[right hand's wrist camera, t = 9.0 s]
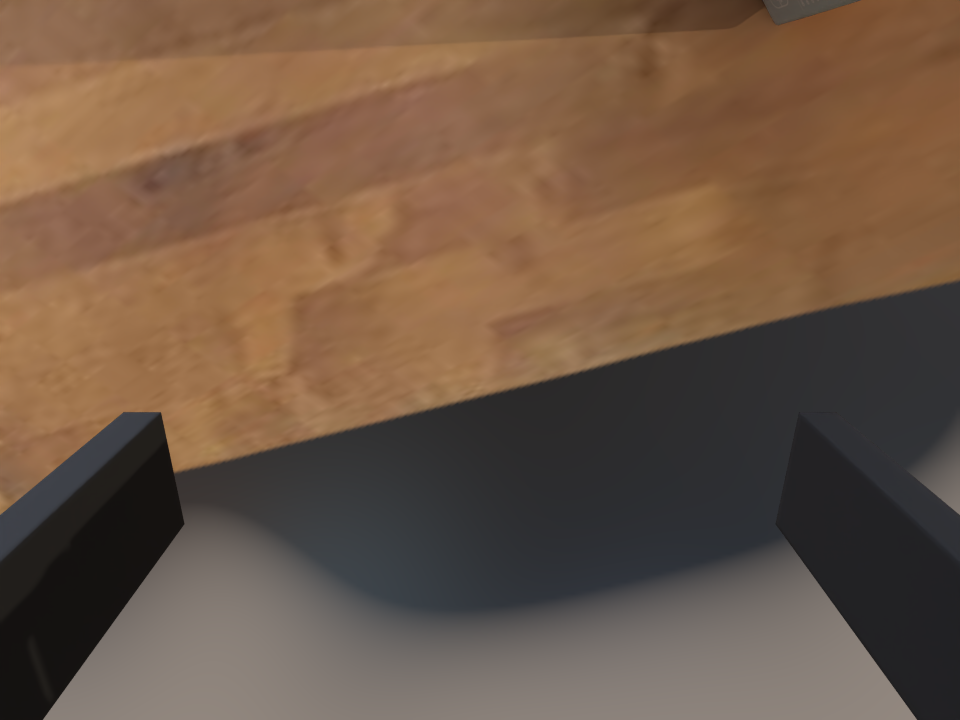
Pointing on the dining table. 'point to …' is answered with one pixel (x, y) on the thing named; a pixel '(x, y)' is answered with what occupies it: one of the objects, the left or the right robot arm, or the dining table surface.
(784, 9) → the hard drive box
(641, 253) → the dining table surface
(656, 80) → the dining table surface
